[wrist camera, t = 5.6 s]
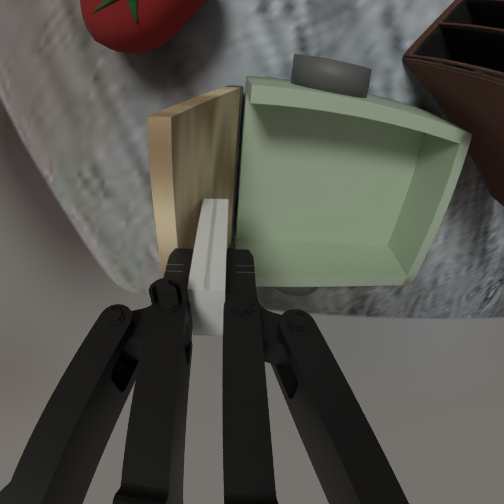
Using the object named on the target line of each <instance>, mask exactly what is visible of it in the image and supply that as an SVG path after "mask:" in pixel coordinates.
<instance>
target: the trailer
mask: <svg viewBox="0 0 504 504" xmlns="http://www.w3.org/2000/svg"><path fill="white" fill-rule="evenodd" d="M371 70H372V69H369V68H366V67H362V66H358V65H354V64H350V63H345V62H341V61H336V60H331V59H325V58H319V57H313V56H306V55H298V54H294V59H293V68H292V77H291V80H284V79H274V78H263V77H250V76H246V88H245V101H244V114H243V128H242V141H241V156H240V171H239V186H238V202H237V219H236V236H235V243H236V249H249V251H250V252H251V254H252V255H253V257H254V268H255V281H256V287H274V288H276V289H277V290H279V291H281V292H283V293H286V294H290V295H305V294H309V293H311V292H313V291H315V290H316V289H317V288H318V287H338V286H385V285H411V284H412V282H413V280H414V278H415V276H416V274H417V273H418V271H419V269H420V267H421V265H422V263H423V261H424V259H425V257H426V255H427V253H428V250H429V248H430V246H431V244H432V242H433V240H434V238H435V235H436V233H437V231H438V229H439V226H440V224H441V222H442V219H443V217H444V215H445V212H446V210H447V207H448V205H449V202H450V200H451V197H452V195H453V192H454V189H455V187H456V184H457V181H458V178H459V175H460V173H461V170H462V167H463V164H464V161H465V158H466V154H467V151H468V148H469V145H470V141H471V138H472V134H471V133H469V132H468V131H466V130H464V129H462V128H460V127H459V126H457V125H455V124H453V123H451V122H449V121H447V120H445V119H443V118H441V117H439V116H437V115H435V114H433V113H431V112H429V111H427V110H424V109H420V108H417V107H414V106H411V105H408V104H404V103H401V102H397V101H394V100H390V99H386V98H382V97H378V96H374V95H370V94H368V88H369V82H370V76H371Z"/></svg>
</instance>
